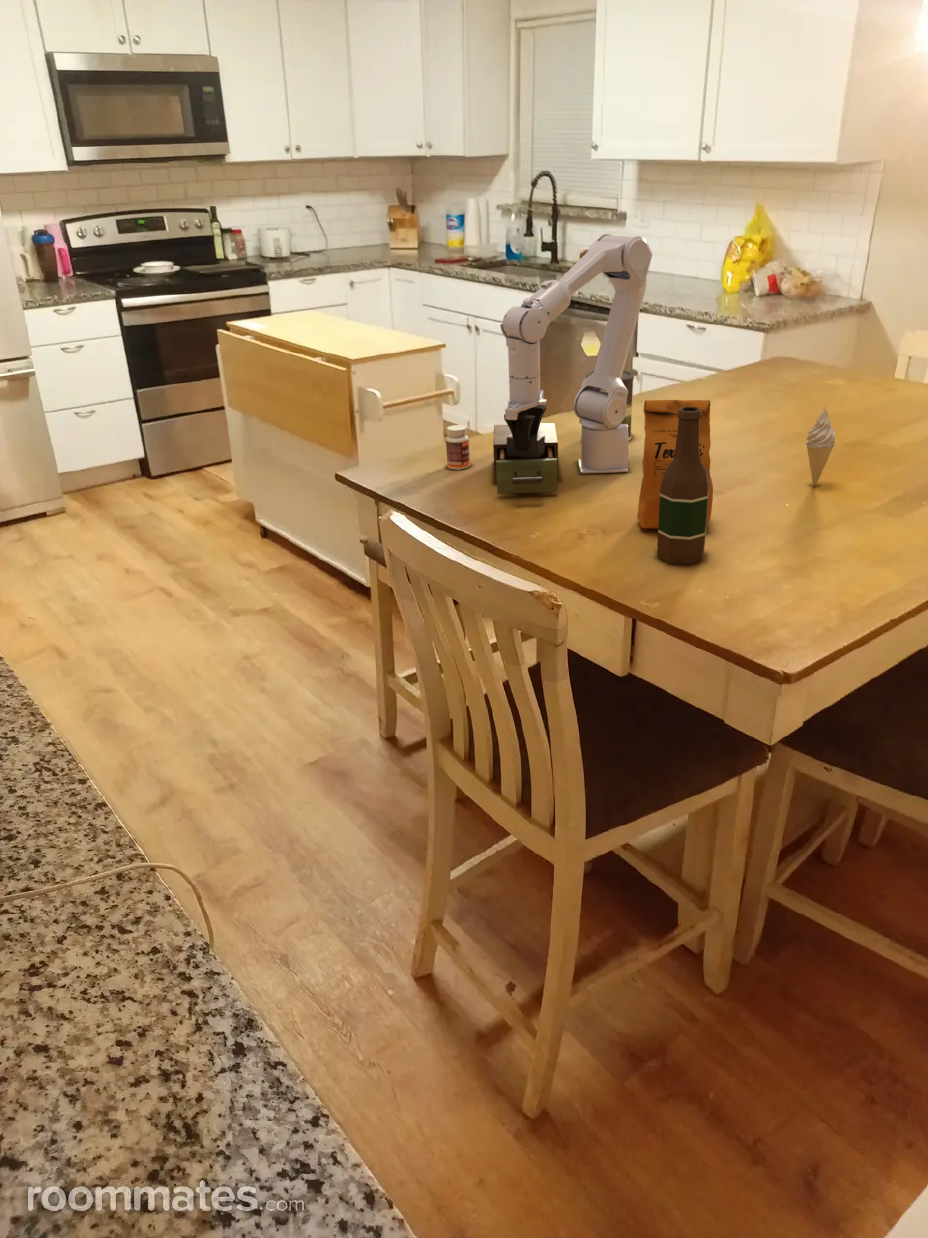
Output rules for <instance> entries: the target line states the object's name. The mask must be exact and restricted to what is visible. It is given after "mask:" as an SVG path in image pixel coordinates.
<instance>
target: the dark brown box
mask: <svg viewBox="0 0 928 1238" xmlns="http://www.w3.org/2000/svg"><path fill="white" fill-rule="evenodd" d="M544 453H545V436H543V435H531V434H530V438H529V446H528V450H527V451H517V450H516V447H515V444H514V440H513V436H512V434H510V435H509V436H508V437H507V456H517V457H528V458H539V457H541V456H542V455H543V454H544Z"/></svg>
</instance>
